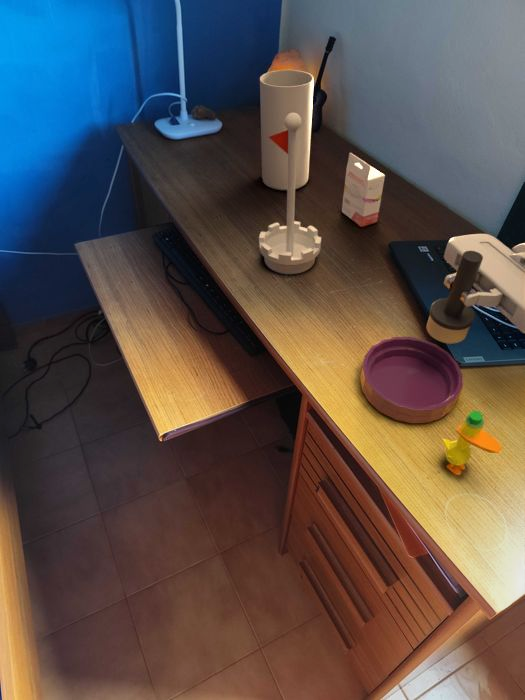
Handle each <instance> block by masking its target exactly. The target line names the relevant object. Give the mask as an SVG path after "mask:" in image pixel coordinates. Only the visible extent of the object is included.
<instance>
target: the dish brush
mask: <svg viewBox="0 0 525 700" xmlns="http://www.w3.org/2000/svg"><path fill="white" fill-rule="evenodd" d="M482 260H483V256H482V255H481V254H480V253H478V252H476V251H466V252H464V253H463V255H462V258H461V261H460V264H459V267H458V270H456V272H457V273H456V272H455V273H456V276H455V279H454V281H453V284H452V287H451V290H449V293H448V296H447V297H445V298H439V299H437V300H435V301H434V302H433V303H432V304H431V306H430V309H429V317H428V320H427V323H426V331H427V334H429V336H430V337H432V338H433V339H434V340H436V341H438V342H441V343H444V344H458V343H460V342H462V341H464V340H465V339H466V337H467V335H468V333H469V330H470V328H471V327H472V325H473V324H474V321H475V319H476V312H475V310H474V309H473V308H472V306H468V307H466V306H465V305H464V304H463V303H462V302H461V301H460V298H461V295H462V293H463V292H464V291H469V290H471V289H473V287H474V286H473V283H474V281H475V278H476V276H477V273H478V270H479V268H480V265H481V262H482Z"/></svg>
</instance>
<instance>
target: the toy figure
mask: <svg viewBox="0 0 525 700" xmlns="http://www.w3.org/2000/svg"><path fill="white" fill-rule="evenodd" d="M484 425H485V419H484V415H483V414H482V412H480V411H478V410H472V411H470V412H469V414H468V415H467V416H466V417H465V420H464V422H463V423H461V424H460V425H459V426H458V427H457V429H456V430H455V432H456V433H457V434H458V437H457V439H455V440H453V441H452V440H449V439H446V438H441V439H442V442H443V444H444V447H445V457H446V461H448V464H447V465H446V468H447V469H448V470H449V471H450V472H451V473H452V474H454V475H457V476H460V475H461V474H462V471H464V470H465V469H466V466H465V465H464V464H467V463H468V462H469V460H470V459H471V457H472V448H471V447H470V446H474V447H476V448H478V449H480V450H481V451H484V452H487V453H491V454H492V453H493V454H496V453H497V454H499V453H501V451H502V449H503V447H502V446H501V445H500V443H499V442H498V441H497V439H495V438H494V437H493V436H492V435H491V434H489V433H488V432H486V431H485V430H484V429H483V426H484Z"/></svg>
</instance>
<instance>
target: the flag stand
mask: <svg viewBox="0 0 525 700" xmlns="http://www.w3.org/2000/svg"><path fill="white" fill-rule="evenodd" d="M300 126H301V118H300V116H299V115H298V114H297V113H290V114H288V115H287V116H286V118H285V127H286V128H287V129H288V130H286V131H283V132H281V133H278V134H275V135H272V136H270V137H269V138H270V139H271V140H272V141H273V142H274V143H276V144H277V145H278V146H279V147H280V148H281V149H282V150H284V151H285V152H286V153H287V154H288V180H287V190H286V225H280V223H279V222H278V221H277V222H274V223H272V224H269V225H268V226H267V230H266V231H260V233H259V236H258V247H259V252H260V254H261V256H263V257H264V263H265V265H266V266H267V267H268V268H269V269H270V270H272V271H273V272H276V273H279V274H284V275H295V274H300V273H304V272H306V271H308V270H310V269H311V268H312V267H313V266H314V264H315V260H316V257H318V255H319V254H320V252H321V246H322V236H319V230H318V229H317V228H316V227H314V226H313V225H308V226H307V227H305V226H304V227H303V226H301V225H302V223H301V221H296V220H295V211H296V210H295V204H296V189H295V178H296V146H297V130H298V129H299V128H300Z"/></svg>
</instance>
